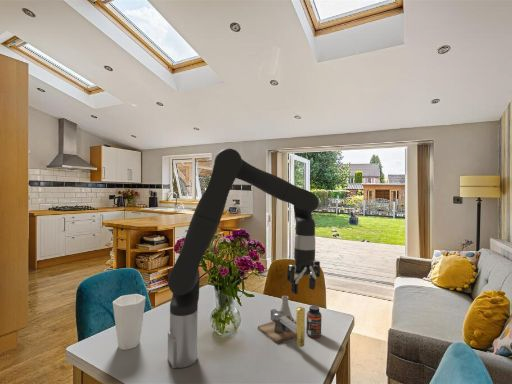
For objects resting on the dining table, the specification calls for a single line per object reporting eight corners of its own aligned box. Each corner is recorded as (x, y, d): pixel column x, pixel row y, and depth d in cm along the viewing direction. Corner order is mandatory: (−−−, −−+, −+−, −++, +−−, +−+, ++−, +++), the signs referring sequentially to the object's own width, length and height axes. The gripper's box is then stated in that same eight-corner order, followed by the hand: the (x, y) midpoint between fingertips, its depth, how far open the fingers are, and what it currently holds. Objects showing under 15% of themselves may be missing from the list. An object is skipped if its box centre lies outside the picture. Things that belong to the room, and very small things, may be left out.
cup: (150, 343, 104) (150, 298, 104) (124, 356, 96) (124, 308, 96) (133, 334, 110) (133, 292, 110) (107, 345, 102) (108, 300, 102)
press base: (257, 329, 116) (257, 312, 116) (276, 322, 121) (277, 306, 121) (276, 343, 105) (277, 325, 105) (297, 335, 111) (297, 318, 111)
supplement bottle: (310, 339, 108) (310, 311, 108) (303, 332, 114) (304, 305, 114) (324, 337, 110) (324, 309, 110) (316, 330, 115) (317, 303, 115)
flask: (292, 315, 129) (292, 294, 128) (293, 323, 121) (293, 300, 121) (277, 314, 129) (277, 293, 129) (276, 322, 122) (277, 299, 122)
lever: (267, 323, 114) (268, 292, 114) (277, 320, 117) (277, 290, 117) (297, 348, 97) (298, 311, 97) (308, 344, 99) (308, 309, 99)
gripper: (297, 251, 93) (296, 298, 93) (326, 246, 101) (324, 290, 101) (283, 246, 99) (281, 291, 99) (311, 243, 107) (310, 284, 107)
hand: (303, 291), depth 100 cm, fingers open, 8 cm apart
